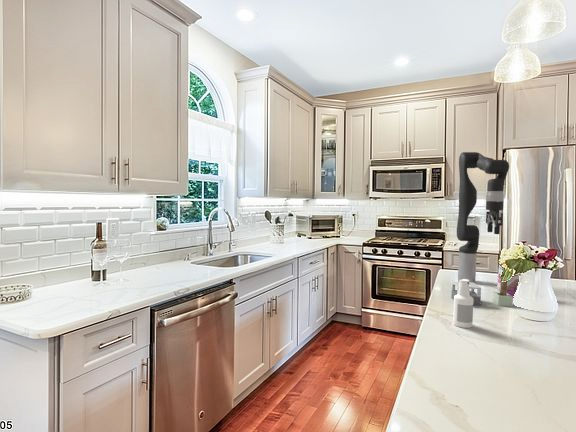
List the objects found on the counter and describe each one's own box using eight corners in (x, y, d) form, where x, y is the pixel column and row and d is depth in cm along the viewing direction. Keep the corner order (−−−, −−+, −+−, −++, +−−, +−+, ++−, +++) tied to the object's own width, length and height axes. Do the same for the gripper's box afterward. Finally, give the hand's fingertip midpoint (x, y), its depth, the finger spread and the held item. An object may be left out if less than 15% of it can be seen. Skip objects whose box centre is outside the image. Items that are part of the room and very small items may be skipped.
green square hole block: (493, 301, 170) (493, 292, 170) (506, 302, 169) (507, 293, 169) (498, 305, 164) (498, 295, 164) (512, 306, 163) (512, 296, 163)
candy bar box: (501, 296, 179) (502, 264, 178) (496, 293, 184) (498, 262, 183) (524, 297, 178) (526, 265, 177) (519, 294, 183) (521, 263, 181)
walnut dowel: (498, 301, 168) (500, 274, 167) (504, 302, 168) (506, 275, 166) (500, 303, 165) (502, 276, 164) (506, 303, 165) (508, 276, 164)
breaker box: (451, 297, 176) (451, 281, 175) (472, 298, 174) (473, 282, 174) (457, 303, 166) (458, 286, 166) (480, 305, 165) (481, 287, 164)
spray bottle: (464, 329, 135) (466, 282, 134) (449, 323, 141) (450, 278, 140) (476, 326, 138) (478, 280, 137) (460, 320, 144) (462, 277, 143)
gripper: (481, 200, 183) (479, 231, 184) (492, 200, 169) (490, 234, 170) (497, 200, 182) (495, 231, 183) (509, 200, 168) (507, 235, 169)
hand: (493, 233), depth 176 cm, fingers open, 8 cm apart
